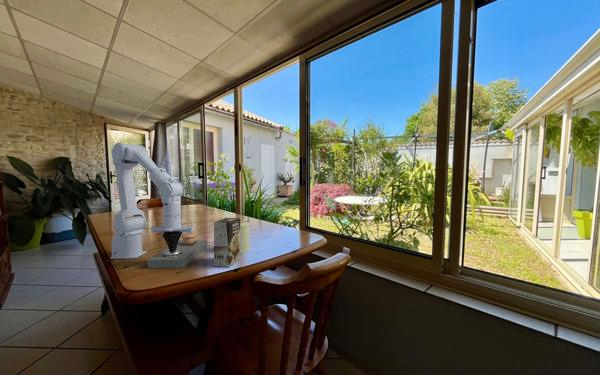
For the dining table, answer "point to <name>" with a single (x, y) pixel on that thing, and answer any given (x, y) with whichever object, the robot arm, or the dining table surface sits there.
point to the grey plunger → (173, 253)
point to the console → (182, 260)
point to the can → (244, 237)
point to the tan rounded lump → (188, 239)
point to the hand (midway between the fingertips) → (172, 251)
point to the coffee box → (226, 242)
